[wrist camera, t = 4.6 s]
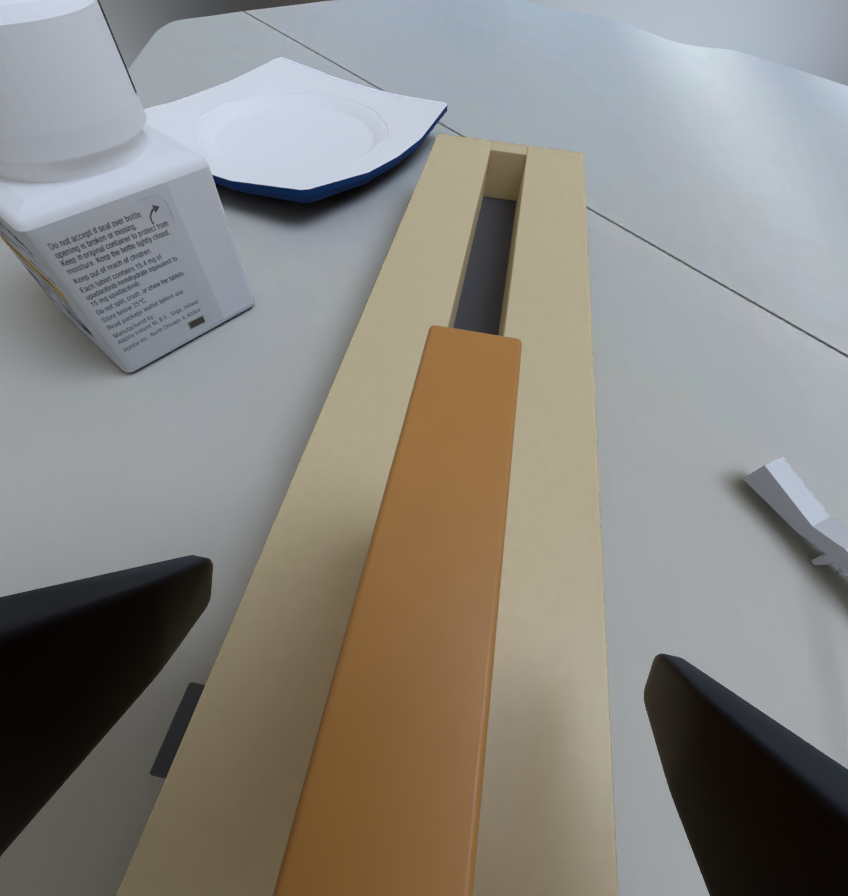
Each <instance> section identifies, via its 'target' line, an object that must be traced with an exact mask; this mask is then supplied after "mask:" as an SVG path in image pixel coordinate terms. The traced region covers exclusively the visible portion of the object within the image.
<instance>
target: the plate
mask: <svg viewBox="0 0 848 896" xmlns="http://www.w3.org/2000/svg"><path fill="white" fill-rule="evenodd" d="M144 111H145V114H146V123H145V124H147V125H149V126H151V127H152V128H154V129H156V130H158V131H159V132H161V133H163V134H164V135H166V136H168V137H170V138H171V139H173V140H175V141H177V142H178V143H180V144H182V145H184V146H185V147H187V148H189V149H191V150H192V151H194V152H196V153H198V154H199V155H201V156H202V157H204V158H205V159H206V161H207V163H208V164H209V167H210V170H211V173H212V176H213V179H214V182H215V183H216V184H219V185H222V186H225V187H227V188H230V189H233V190H236V191H239V192H245V193H250V194H256V195H261V196H267V197H272V198H278V199H283V200H289V201H294V202H300V203H312V202H315V201H318V200H321V199H323V198H326V197H329V196H332V195H335V194H338V193H341V192H343V191H346V190H349V189H352V188H355V187H358V186H361V185H364V184H366V183H368V182H369V181H371V180H373V179H374V178H376V177H377V176H379V175H381V174H382V173H384V172H386V171H387V170H389V169H391V168H392V167H394V166H395V165H397V164H398V163H400V162H401V161H402V160H404V159H405V158H406V157H408V156H409V155H410V154H412V153H413V152H414V151H416V150H417V149H418V147H419V146H420V145H421V143H422V142H423V141H424V139H425V138H426V137H427V135H428V134H429V133H430V131H431V130H432V129H433V128H434V126H435V125H436V124H437V123H438V121H439V120H440V119H441V118H442V116H443V115H444V114H445V113H446V111H447V104H446V103H444V102H438V101H432V100H426V99H420V98H414V97H408V96H402V95H396V94H393V93H389V92H385V91H381V90H377V89H374V88H370V87H366V86H363V85H359V84H356V83H353V82H349V81H346V80H343V79H340V78H336V77H334V76H331V75H328V74H326V73H323V72H320V71H318V70H315V69H312V68H310V67H307V66H305V65H302V64H299V63H297V62H294V61H291V60H289V59H286V58H276V59H274V60H272V61H270V62H268V63H266V64H264V65H262V66H259V67H257V68H255V69H253V70H251V71H249V72H247V73H245V74H243V75H241V76H239V77H237V78H235V79H233V80H231V81H228V82H226V83H223V84H220V85H218V86H215V87H212V88H210V89H207V90H205V91H202V92H199V93H196V94H193V95H191V96H188V97H185V98H182V99H179V100H176V101H173V102H170V103H167V104H162V105H158V106H154V107H149V108H145V109H144Z"/></svg>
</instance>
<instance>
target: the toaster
mask: <svg viewBox="0 0 848 896" xmlns="http://www.w3.org/2000/svg"><path fill="white" fill-rule="evenodd" d="M432 325H437V326H444V327H450V328H456V329H462V330H468V331H474V332H480V333H487V334H493V335H499V336H505V337H511V338H517V339H520V340H521V343H522V350H521V361H520V373H519V384H518V395H517V406H516V417H515V429H514V440H513V451H512V462H511V473H510V484H509V496H508V507H507V518H506V529H505V540H504V552H503V563H502V574H501V585H500V596H499V607H498V619H497V630H496V641H495V652H494V663H493V675H492V686H491V697H490V708H489V719H488V730H487V742H486V753H485V764H484V775H483V786H482V798H481V809H480V820H479V831H478V842H477V853H476V865H475V876H474V887H473V896H618V880H617V858H616V837H615V815H614V794H613V772H612V751H611V729H610V708H609V686H608V665H607V643H606V622H605V600H604V579H603V557H602V536H601V514H600V493H599V471H598V449H597V428H596V406H595V385H594V363H593V342H592V320H591V299H590V277H589V256H588V234H587V213H586V191H585V170H584V153H582V152H574V151H566V150H559V149H551V148H543V147H536V146H527V145H522V144H514V143H507V142H499V141H493V142H492V141H491V140H483V139H476V138H468V137H460V136H453V135H445V134H438V135H437V138H436V140H435V142H434V145H433V147H432V150H431V152H430V154H429V157H428V159H427V161H426V164H425V166H424V168H423V171H422V173H421V176H420V178H419V180H418V183H417V185H416V187H415V190H414V192H413V195H412V197H411V199H410V202H409V204H408V206H407V209H406V211H405V213H404V216H403V218H402V221H401V223H400V225H399V228H398V230H397V232H396V235H395V237H394V240H393V242H392V244H391V247H390V249H389V251H388V254H387V256H386V258H385V261H384V263H383V266H382V268H381V270H380V273H379V275H378V277H377V280H376V282H375V285H374V287H373V289H372V292H371V294H370V296H369V299H368V301H367V303H366V306H365V308H364V311H363V313H362V315H361V318H360V320H359V322H358V325H357V327H356V330H355V332H354V334H353V337H352V339H351V341H350V344H349V346H348V348H347V351H346V353H345V356H344V358H343V360H342V363H341V365H340V367H339V370H338V372H337V375H336V377H335V379H334V382H333V384H332V386H331V389H330V391H329V393H328V396H327V398H326V401H325V403H324V405H323V408H322V410H321V412H320V415H319V417H318V420H317V422H316V424H315V427H314V429H313V431H312V434H311V436H310V438H309V441H308V443H307V446H306V448H305V450H304V453H303V455H302V457H301V460H300V462H299V465H298V467H297V469H296V472H295V474H294V476H293V479H292V481H291V483H290V486H289V488H288V491H287V493H286V495H285V498H284V500H283V502H282V505H281V507H280V510H279V512H278V514H277V517H276V519H275V521H274V524H273V526H272V528H271V531H270V533H269V536H268V538H267V540H266V543H265V545H264V547H263V550H262V552H261V555H260V557H259V559H258V562H257V564H256V566H255V569H254V571H253V573H252V576H251V578H250V581H249V583H248V585H247V588H246V590H245V592H244V595H243V597H242V600H241V602H240V604H239V607H238V609H237V611H236V614H235V616H234V618H233V621H232V623H231V626H230V628H229V630H228V633H227V635H226V637H225V640H224V642H223V645H222V647H221V649H220V652H219V654H218V656H217V659H216V661H215V663H214V666H213V668H212V671H211V673H210V675H209V678H208V680H207V682H206V685H201V684H196V683H189V685H188V687H187V689H186V692H185V694H184V696H183V698H182V701H181V703H180V705H179V707H178V710H177V712H176V714H175V717H174V719H173V721H172V723H171V726H170V728H169V730H168V732H167V735H166V737H165V739H164V741H163V744H162V746H161V748H160V750H159V753H158V755H157V757H156V760H155V762H154V764H153V766H152V769H151V771H150V774H151V775H153V776H157V777H161V778H165V779H166V780H165V782H164V784H163V787H162V789H161V791H160V794H159V796H158V799H157V801H156V803H155V806H154V808H153V810H152V813H151V815H150V817H149V820H148V822H147V825H146V827H145V829H144V832H143V834H142V836H141V839H140V841H139V844H138V846H137V848H136V851H135V853H134V855H133V858H132V860H131V862H130V865H129V867H128V870H127V872H126V874H125V877H124V879H123V881H122V884H121V886H120V889H119V891H118V893H117V896H272V895H273V892H274V888H275V885H276V881H277V877H278V874H279V870H280V867H281V863H282V859H283V856H284V852H285V848H286V845H287V841H288V838H289V834H290V830H291V827H292V823H293V819H294V816H295V812H296V809H297V805H298V801H299V798H300V794H301V791H302V787H303V783H304V780H305V776H306V772H307V769H308V765H309V762H310V758H311V754H312V751H313V747H314V744H315V740H316V736H317V733H318V729H319V725H320V722H321V718H322V715H323V711H324V707H325V704H326V700H327V697H328V693H329V689H330V686H331V682H332V678H333V675H334V671H335V668H336V664H337V660H338V657H339V653H340V650H341V646H342V642H343V639H344V635H345V631H346V628H347V624H348V621H349V617H350V613H351V610H352V606H353V603H354V599H355V595H356V592H357V588H358V584H359V581H360V577H361V574H362V570H363V566H364V563H365V559H366V556H367V552H368V548H369V545H370V541H371V537H372V534H373V530H374V527H375V523H376V519H377V516H378V512H379V508H380V505H381V501H382V498H383V494H384V490H385V487H386V483H387V480H388V476H389V472H390V469H391V465H392V461H393V458H394V454H395V451H396V447H397V443H398V440H399V436H400V433H401V429H402V425H403V422H404V418H405V414H406V411H407V407H408V404H409V400H410V396H411V393H412V389H413V386H414V382H415V378H416V375H417V371H418V367H419V364H420V360H421V357H422V353H423V349H424V346H425V342H426V339H427V335H428V331H429V329H430V327H431V326H432Z"/></svg>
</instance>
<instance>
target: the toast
mask: <svg viewBox="0 0 848 896" xmlns="http://www.w3.org/2000/svg"><path fill="white" fill-rule="evenodd" d="M521 350H522V343H521V340H520V339H517V338H511V337H505V336H499V335H493V334H487V333H480V332H474V331H468V330H462V329H456V328H450V327H444V326H437V325H432V326H431V327H430V329H429V331H428V335H427V339H426V342H425V346H424V349H423V353H422V357H421V360H420V364H419V367H418V371H417V375H416V378H415V382H414V386H413V389H412V393H411V396H410V400H409V404H408V407H407V411H406V414H405V418H404V422H403V425H402V429H401V433H400V436H399V440H398V443H397V447H396V451H395V454H394V458H393V461H392V465H391V469H390V472H389V476H388V480H387V483H386V487H385V490H384V494H383V498H382V501H381V505H380V508H379V512H378V516H377V519H376V523H375V527H374V530H373V534H372V537H371V541H370V545H369V548H368V552H367V556H366V559H365V563H364V566H363V570H362V574H361V577H360V581H359V584H358V588H357V592H356V595H355V599H354V603H353V606H352V610H351V613H350V617H349V621H348V624H347V628H346V631H345V635H344V639H343V642H342V646H341V650H340V653H339V657H338V660H337V664H336V668H335V671H334V675H333V678H332V682H331V686H330V689H329V693H328V697H327V700H326V704H325V707H324V711H323V715H322V718H321V722H320V725H319V729H318V733H317V736H316V740H315V744H314V747H313V751H312V754H311V758H310V762H309V765H308V769H307V772H306V776H305V780H304V783H303V787H302V791H301V794H300V798H299V801H298V805H297V809H296V812H295V816H294V819H293V823H292V827H291V830H290V834H289V838H288V841H287V845H286V848H285V852H284V856H283V859H282V863H281V867H280V870H279V874H278V877H277V881H276V885H275V888H274V892H273V895H272V896H473V887H474V876H475V865H476V853H477V842H478V831H479V820H480V809H481V798H482V786H483V775H484V764H485V753H486V742H487V730H488V719H489V708H490V697H491V686H492V675H493V663H494V652H495V641H496V630H497V619H498V607H499V596H500V585H501V574H502V563H503V552H504V540H505V529H506V518H507V507H508V496H509V484H510V473H511V462H512V451H513V440H514V429H515V417H516V406H517V395H518V384H519V373H520V361H521Z"/></svg>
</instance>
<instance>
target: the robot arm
mask: <svg viewBox="0 0 848 896" xmlns="http://www.w3.org/2000/svg"><path fill="white" fill-rule="evenodd" d="M212 572H213V564H212V561H211V560H210V559H208V558H204V557H199V556H195V555H190V556H185V557H180V558H176V559H171V560H167V561H162V562H158V563H153V564H149V565H144V566H140V567H135V568H131V569H126V570H122V571H117V572H113V573H108V574H104V575H99V576H95V577H90V578H85V579H81V580H76V581H72V582H67V583H63V584H58V585H54V586H49V587H45V588H40V589H36V590H31V591H27V592H22V593H18V594H13V595H9V596H4V597H0V856H1V855H2V854H3V852H4V851H5V850H6V849H7V848H8V847H9V846H10V844H11V843H12V842H13V841H14V840H15V839H16V838H17V836H18V835H19V834H20V833H21V832H22V831H23V829H24V828H25V827H26V826H27V825H28V824H29V823H30V821H31V820H32V819H33V818H34V817H35V816H36V814H37V813H38V812H39V811H40V810H41V809H42V808H43V806H44V805H45V804H46V803H47V802H48V801H49V799H50V798H51V797H52V796H53V795H54V794H55V793H56V791H57V790H58V789H59V788H60V787H61V786H62V785H63V783H64V782H65V781H66V780H67V779H68V778H69V776H70V775H71V774H72V773H73V772H74V771H75V770H76V768H77V767H78V766H79V765H80V764H81V763H82V761H83V760H84V759H85V758H86V757H87V756H88V755H89V753H90V752H91V751H92V750H93V749H94V748H95V747H96V745H97V744H98V743H99V742H100V741H101V740H102V738H103V737H104V736H105V735H106V734H107V733H108V732H109V730H110V729H111V728H112V727H113V726H114V725H115V723H116V722H117V721H118V720H119V719H120V718H121V717H122V715H123V714H124V713H125V712H126V711H127V710H128V708H129V707H130V706H131V705H132V704H133V703H134V702H135V700H136V699H137V698H138V697H139V696H140V695H141V694H142V692H143V691H144V690H145V689H146V688H147V687H148V685H149V684H150V683H151V682H152V681H153V679H154V678H155V677H156V676H157V675H158V673H159V672H160V671H161V670H162V668H163V667H164V666H165V664H166V663H167V662H168V660H169V659H170V658H171V656H172V655H173V653H174V652H175V651H176V649H177V648H178V646H179V645H180V644H181V642H182V641H183V639H184V638H185V637H186V635H187V634H188V632H189V631H190V630H191V628H192V627H193V625H194V624H195V623H196V621H197V620H198V619H199V617H200V616H201V614H202V613H203V612H204V610H205V609H206V607H207V605H208V603H209V600H210V597H211V586H212ZM644 702H645V707H646V710H647V714H648V717H649V721H650V724H651V728H652V731H653V735H654V738H655V742H656V745H657V749H658V752H659V756H660V759H661V763H662V766H663V770H664V773H665V777H666V780H667V783H668V786H669V789H670V792H671V795H672V798H673V800H674V803H675V806H676V809H677V811H678V814H679V816H680V819H681V822H682V824H683V827H684V829H685V832H686V835H687V837H688V840H689V842H690V845H691V848H692V850H693V853H694V855H695V858H696V861H697V863H698V866H699V868H700V871H701V874H702V876H703V879H704V881H705V884H706V887H707V889H708V892H709V894H710V896H848V769H846V768H845V767H843V766H842V765H840V764H839V763H837V762H836V761H834V760H833V759H831V758H830V757H828V756H827V755H825V754H824V753H822V752H821V751H819V750H818V749H816V748H815V747H813V746H812V745H810V744H809V743H807V742H806V741H804V740H803V739H801V738H800V737H798V736H797V735H796V734H794V733H793V732H791V731H790V730H788V729H787V728H785V727H784V726H782V725H781V724H779V723H778V722H776V721H775V720H773V719H772V718H770V717H769V716H767V715H766V714H764V713H763V712H761V711H760V710H758V709H757V708H755V707H754V706H752V705H751V704H749V703H748V702H746V701H745V700H743V699H742V698H741V697H739V696H738V695H736V694H735V693H733V692H732V691H730V690H729V689H727V688H726V687H724V686H723V685H721V684H720V683H718V682H717V681H715V680H714V679H712V678H711V677H709V676H708V675H706V674H705V673H703V672H702V671H700V670H699V669H697V668H696V667H694V666H693V665H691V664H690V663H688V662H687V661H685V660H684V659H682V658H680V657H676V656H671V655H666V654H659V655H657V656H656V657H655V658H654V661H653V664H652V667H651V670H650V673H649V677H648V680H647V683H646V686H645V690H644Z"/></svg>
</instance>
